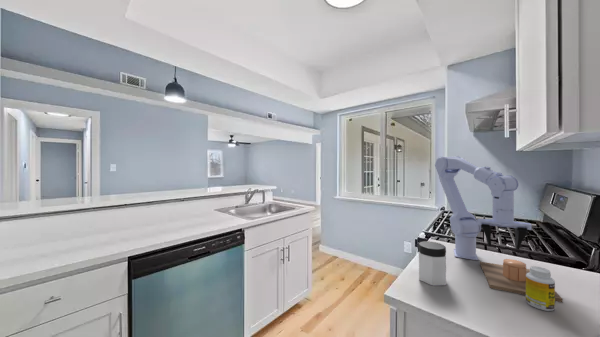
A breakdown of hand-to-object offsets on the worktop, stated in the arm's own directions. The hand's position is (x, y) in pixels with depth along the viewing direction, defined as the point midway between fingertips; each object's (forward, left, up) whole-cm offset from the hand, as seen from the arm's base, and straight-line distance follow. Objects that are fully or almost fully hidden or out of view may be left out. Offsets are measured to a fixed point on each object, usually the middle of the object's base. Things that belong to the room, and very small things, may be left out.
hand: (503, 246), depth 83 cm
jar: (+18, -22, -10) cm, 30 cm away
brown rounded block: (+5, +2, -8) cm, 10 cm away
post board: (+5, +2, -9) cm, 11 cm away
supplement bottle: (+20, +4, -10) cm, 23 cm away
